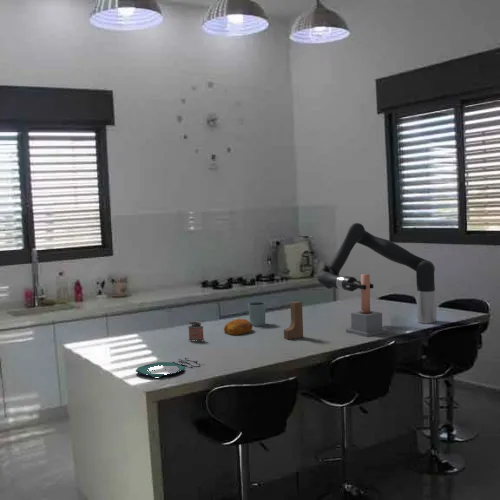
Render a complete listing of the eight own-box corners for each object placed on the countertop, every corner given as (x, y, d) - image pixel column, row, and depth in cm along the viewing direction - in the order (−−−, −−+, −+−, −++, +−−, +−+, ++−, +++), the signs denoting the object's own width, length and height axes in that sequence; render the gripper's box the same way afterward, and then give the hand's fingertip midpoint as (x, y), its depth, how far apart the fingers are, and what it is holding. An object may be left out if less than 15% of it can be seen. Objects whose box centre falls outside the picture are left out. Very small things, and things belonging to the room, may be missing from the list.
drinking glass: (246, 325, 355) (245, 304, 354) (252, 322, 364) (251, 301, 363) (263, 326, 351) (262, 305, 350) (269, 322, 360) (268, 302, 359)
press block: (367, 327, 337) (367, 309, 336) (388, 332, 324) (387, 312, 324) (346, 332, 329) (345, 312, 328) (366, 336, 316) (365, 317, 315)
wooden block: (288, 339, 317) (287, 304, 316) (283, 338, 321) (282, 302, 319) (303, 337, 321) (302, 302, 320) (298, 335, 325) (297, 300, 324)
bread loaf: (257, 335, 341) (258, 320, 341) (236, 336, 329) (237, 321, 329) (238, 331, 351) (239, 316, 351) (217, 332, 339) (218, 317, 339)
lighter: (205, 340, 324) (204, 320, 323) (202, 341, 321) (201, 322, 320) (190, 339, 327) (189, 320, 326) (187, 341, 324) (186, 321, 323)
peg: (365, 312, 329) (365, 273, 327) (372, 313, 325) (371, 274, 323) (359, 313, 327) (359, 274, 325) (365, 314, 323) (365, 275, 321)
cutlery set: (127, 373, 269) (127, 368, 268) (184, 360, 289) (183, 355, 289) (154, 383, 254) (154, 377, 254) (212, 368, 275) (212, 362, 275)
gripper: (336, 277, 332) (358, 281, 318) (356, 274, 340) (379, 278, 326) (336, 291, 333) (359, 295, 319) (356, 288, 341) (379, 292, 327)
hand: (369, 286), depth 322 cm, fingers closed on peg, 4 cm apart
